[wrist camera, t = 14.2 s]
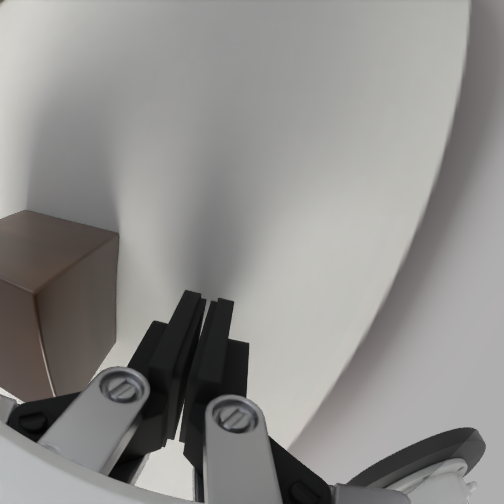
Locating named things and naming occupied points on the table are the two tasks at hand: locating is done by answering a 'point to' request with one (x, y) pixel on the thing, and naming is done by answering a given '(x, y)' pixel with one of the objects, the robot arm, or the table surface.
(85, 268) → the walnut block
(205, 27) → the table surface
